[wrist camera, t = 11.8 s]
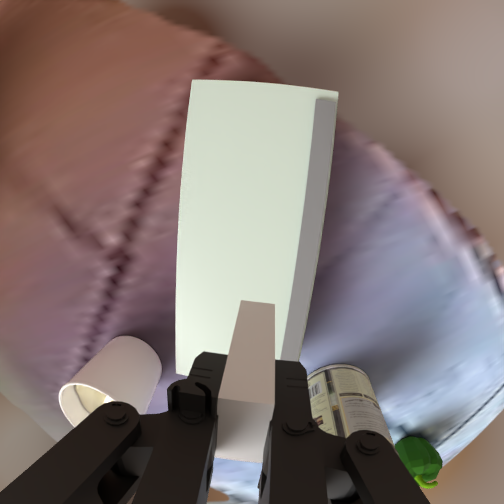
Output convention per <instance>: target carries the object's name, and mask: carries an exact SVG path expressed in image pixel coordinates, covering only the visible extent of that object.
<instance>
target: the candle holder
mask: <svg viewBox="0 0 504 504" xmlns="http://www.w3.org/2000/svg"><path fill="white" fill-rule="evenodd" d="M161 373H162V365H161V361H160V359H159V357H158V355H157V353H156V352H155V351H154V350H153V349H152V347H150V346H149V345H148V344H147V343H145V342H144V341H142V340H140V339H138V338H136V337H132V336H118V337H116V338H114V339H112V340H111V341H110V342H109V343H107V344H106V345H105V346H104V347H103V348H102V349H101V350H100V351H99V352H98V353H97V354H96V355H95V356H94V357H93V358H92V359H91V360H90V361H89V362H88V363H87V364H86V365H85V366H84V367H83V368H82V369H81V370H80V371H79V372H78V373H77V374H76V375H75V376H74V377H73V378H72V379H71V380H70V381H69V382H68V383H66V384H65V385H64V386H63V387H62V388H61V390H60V393H59V402H60V406H61V409H62V411H63V413H64V415H65V416H66V418H67V419H68V420H69V422H70V423H71V424H72V425H73V426H74V427H76V426H77V425H78V424H79V423H80V422H82V421H83V420H84V419H85V418H86V417H87V416H88V415H90V414H91V413H92V412H93V411H94V410H95V409H96V408H97V407H99V406H101V405H102V404H104V403H107V402H111V401H122V402H125V403H128V404H130V405H132V406H133V407H135V408H136V410H137V411H138V413H139V414H146V413H147V410H148V408H149V405H150V403H151V400H152V398H153V395H154V393H155V390H156V387H157V385H158V382H159V380H160V377H161Z"/></svg>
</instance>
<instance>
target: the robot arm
mask: <svg viewBox="0 0 504 504" xmlns="http://www.w3.org/2000/svg"><path fill="white" fill-rule="evenodd" d="M167 398H168V411H167V412H163V413H160V414H139V413H138V411H137V410H136V408H135V407H133V406H132V405H130V404H128V403H125V402H122V401H111V402H107V403H104V404H102V405H101V406H99V407H97V408H96V409H95V410H94V411H93V412H92V413H91V414H90V415H88V416H87V417H86V418H85V419H84V420H83V421H82V422H80V423H79V424H78V425H77V426H76V427H75V428H74V429H73V430H71V431H70V432H69V433H68V434H67V435H66V436H65V437H63V438H62V439H61V440H60V441H59V442H58V443H57V444H55V445H54V446H53V447H52V448H51V449H50V450H49V451H47V453H45V454H44V455H43V456H42V457H40V458H39V459H38V460H37V461H36V462H35V463H34V464H32V465H31V466H30V467H29V468H28V469H27V470H25V471H24V472H23V473H22V474H21V475H20V476H19V477H17V478H16V479H15V480H14V481H13V482H12V483H10V484H9V485H8V486H7V487H6V488H5V489H3V490H2V491H1V492H0V504H127V502H128V501H129V500H130V499H131V497H132V496H133V495H134V494H135V492H136V494H135V496H134V499H133V502H132V504H206V503H207V498H208V493H209V488H210V483H211V478H212V473H213V461H214V456H215V457H216V458H222V459H230V460H237V461H246V462H256V463H262V461H263V466H262V471H261V475H260V479H259V483H258V488H259V501H258V504H430V502H429V501H428V499H427V498H426V496H425V495H424V493H423V492H422V490H421V489H420V487H419V486H418V484H417V483H416V481H415V480H414V478H413V477H412V475H411V474H410V472H409V471H408V469H407V468H406V466H405V465H404V463H403V462H402V461H401V459H400V458H399V456H398V455H397V453H396V452H395V450H394V449H393V447H392V446H391V444H390V443H389V441H388V440H387V439H386V438H385V437H384V436H383V435H381V434H379V433H378V432H376V431H371V430H358V431H355V432H353V433H351V434H350V435H349V436H348V437H347V438H344V437H340V436H336V435H332V434H330V433H327V432H325V431H323V430H322V429H320V428H319V426H318V424H317V422H316V421H315V420H314V419H313V417H312V411H311V403H310V395H309V389H308V381H307V372H306V369H305V368H304V367H303V365H302V364H301V363H300V362H298V361H286V360H276V359H275V304H270V303H262V302H253V301H245V300H241V302H240V307H239V311H238V315H237V319H236V323H235V328H234V332H233V336H232V340H231V345H230V349H229V353H228V355H226V354H219V353H212V352H205V351H203V352H202V353H201V354H199V355H198V356H197V357H196V358H195V359H194V362H193V364H192V368H191V370H190V372H189V376H188V377H187V379H182V380H178V381H176V382H174V383H172V384H171V385H170V386H169V387H168V389H167Z"/></svg>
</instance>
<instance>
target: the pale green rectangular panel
mask: <svg viewBox="0 0 504 504" xmlns="http://www.w3.org/2000/svg"><path fill="white" fill-rule="evenodd" d="M337 105H338V92H336V91H329V90H323V89H316V88H309V87H301V86H293V85H284V84H274V83H262V82H248V81H228V80H192V85H191V93H190V100H189V109H188V117H187V126H186V136H185V145H184V156H183V167H182V179H181V192H180V207H179V224H178V244H177V270H176V373H177V374H181V375H186V376H189V372H190V370H191V368H192V364H193V362H194V359H195V358H196V357H197V356H198V355H199V354H201V353H202V352H203V351H205V352H212V353H219V354H226V355H228V353H229V349H230V345H231V340H232V336H233V332H234V328H235V323H236V319H237V315H238V311H239V307H240V302H241V300H245V301H253V302H262V303H270V304H275V359H276V360H286V361H298V362H299V358H300V353H301V349H302V344H303V339H304V334H305V329H306V324H307V319H308V313H309V308H310V303H311V297H312V292H313V286H314V280H315V275H316V269H317V263H318V257H319V250H320V244H321V238H322V231H323V224H324V217H325V210H326V203H327V196H328V188H329V180H330V172H331V164H332V155H333V146H334V136H335V126H336V116H337Z"/></svg>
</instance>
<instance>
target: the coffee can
mask: <svg viewBox="0 0 504 504" xmlns="http://www.w3.org/2000/svg"><path fill="white" fill-rule="evenodd" d="M307 381H308V389H309V395H310V403H311V411H312V417H313V419H314V420H315V421H316V422H317V424H318V426H319V428H320V429H322V430H323V431H325V432H327V433H330V434H332V435H336V436H340V437H344V438H347V437H348V436H349V435H350V434H351V433H353V432H355V431H358V430H371V431H376V432H378V433H379V434H381V435H383V436H384V437H385V438H386V439H387V440H388V441H389V443H390V444H391V446H392V447H393V449H394V450H395V452H396V453H397V455H398V456H399V454H398V452H397V450H396V449H395V447H394V444H393V441H392V438H391V436H390V433H389V430H388V428H387V425H386V422H385V420H384V417H383V415H382V412H381V409H380V407H379V404H378V402H377V399H376V396H375V394H374V391H373V389H372V386H371V383H370V380H369V377H368V376H367V374H366V373H365V372H364V371H362V370H361V369H359V368H357V367H355V366H352V365H347V364H336V365H329V366H325V367H323V368H320V369H318V370H316V371H314V372H313V373H311V374H310V375H308V376H307ZM399 458H400V457H399Z"/></svg>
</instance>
